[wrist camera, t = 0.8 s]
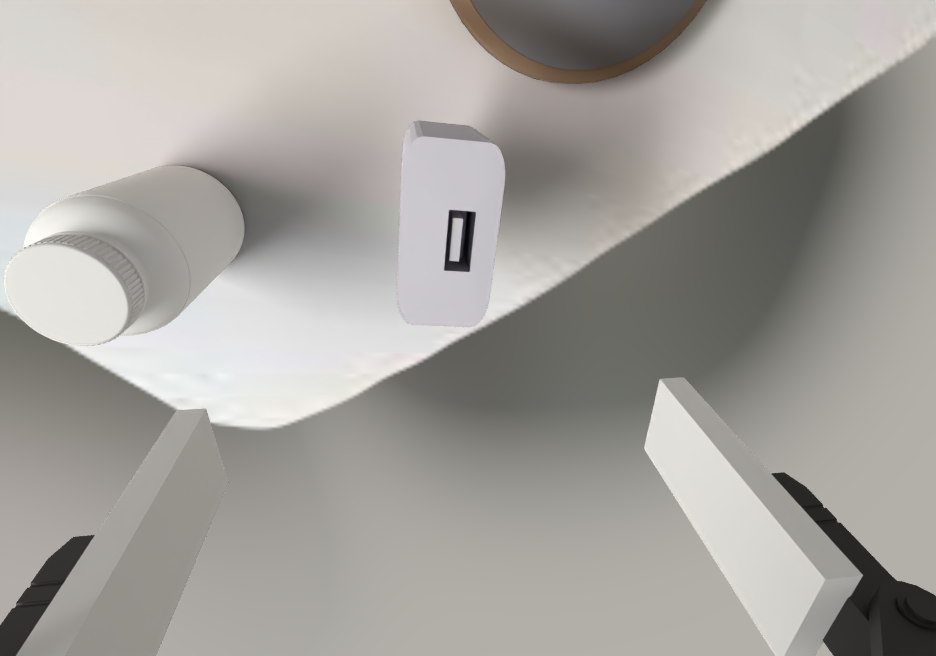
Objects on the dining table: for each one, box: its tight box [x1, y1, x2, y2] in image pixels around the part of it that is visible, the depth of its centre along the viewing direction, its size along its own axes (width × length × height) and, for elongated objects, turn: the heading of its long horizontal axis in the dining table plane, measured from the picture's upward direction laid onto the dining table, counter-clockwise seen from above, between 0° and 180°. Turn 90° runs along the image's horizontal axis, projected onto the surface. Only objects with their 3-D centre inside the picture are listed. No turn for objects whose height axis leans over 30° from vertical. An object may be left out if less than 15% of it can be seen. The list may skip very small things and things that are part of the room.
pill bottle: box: [4, 165, 245, 346], centre depth 29 cm, size 8×8×15 cm
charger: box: [397, 121, 505, 327], centre depth 30 cm, size 5×9×15 cm, turn 174°
